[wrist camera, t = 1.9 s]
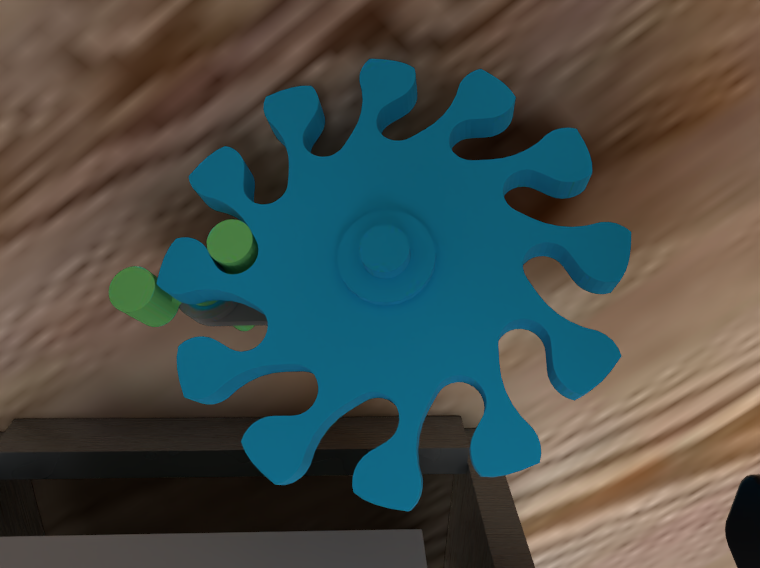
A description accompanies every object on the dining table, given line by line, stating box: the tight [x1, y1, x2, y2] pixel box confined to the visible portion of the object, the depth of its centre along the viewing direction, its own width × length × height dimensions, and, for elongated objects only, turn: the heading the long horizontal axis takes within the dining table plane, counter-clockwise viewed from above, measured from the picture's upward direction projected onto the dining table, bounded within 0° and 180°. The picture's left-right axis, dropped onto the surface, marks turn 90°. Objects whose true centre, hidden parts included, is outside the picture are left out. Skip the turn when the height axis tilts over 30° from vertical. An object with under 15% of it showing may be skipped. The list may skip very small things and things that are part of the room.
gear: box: [109, 59, 631, 511], centre depth 16 cm, size 11×6×10 cm
